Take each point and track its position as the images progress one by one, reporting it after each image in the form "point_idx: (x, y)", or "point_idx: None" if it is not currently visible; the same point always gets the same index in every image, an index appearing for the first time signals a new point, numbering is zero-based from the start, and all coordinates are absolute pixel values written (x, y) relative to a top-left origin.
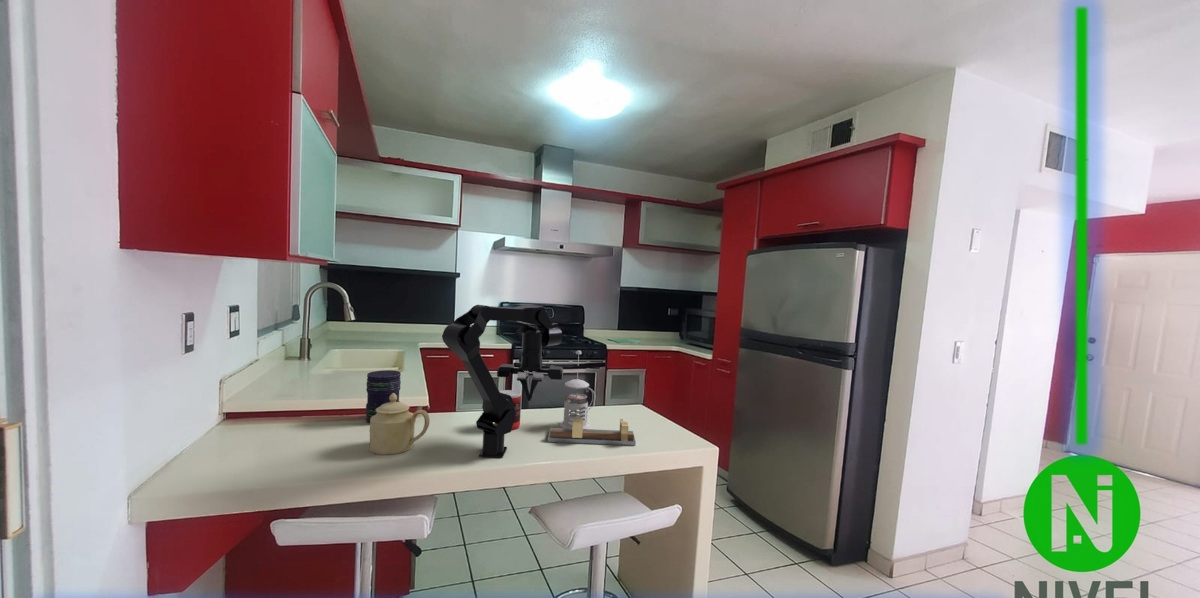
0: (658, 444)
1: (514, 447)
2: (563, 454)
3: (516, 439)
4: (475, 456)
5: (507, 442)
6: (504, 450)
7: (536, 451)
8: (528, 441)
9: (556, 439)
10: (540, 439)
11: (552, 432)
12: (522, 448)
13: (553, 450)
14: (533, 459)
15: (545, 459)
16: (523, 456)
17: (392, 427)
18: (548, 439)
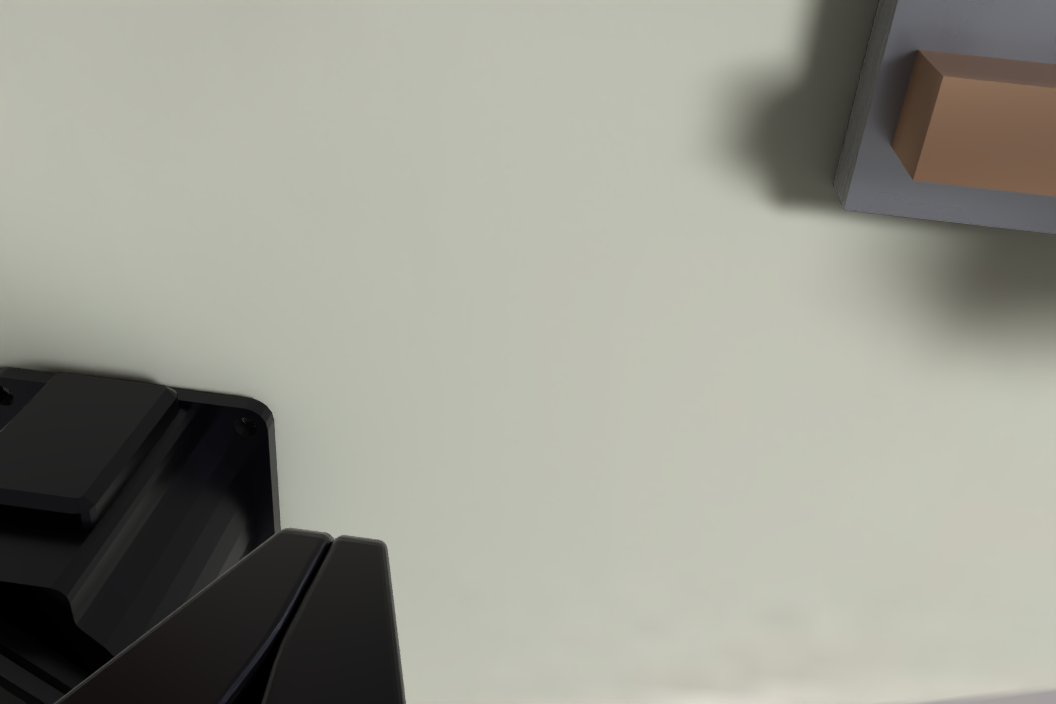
0: None
1: (356, 356)
2: (972, 568)
3: (331, 67)
4: None
5: (225, 188)
6: (261, 508)
7: (643, 477)
8: (527, 152)
9: (987, 218)
10: (724, 65)
11: (953, 176)
12: (463, 389)
13: (868, 461)
14: (606, 649)
15: (736, 658)
16: (496, 583)
17: None
18: (850, 203)
